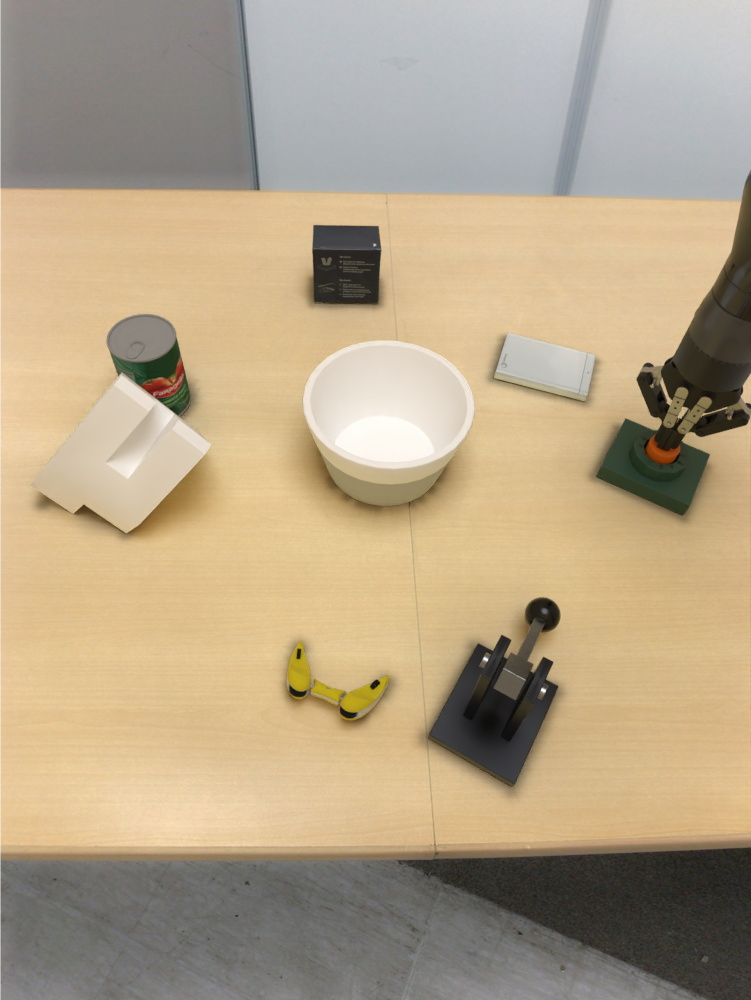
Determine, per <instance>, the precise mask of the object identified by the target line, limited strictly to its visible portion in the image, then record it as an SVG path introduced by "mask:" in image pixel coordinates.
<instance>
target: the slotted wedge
mask: <svg viewBox="0 0 751 1000" xmlns="http://www.w3.org/2000/svg"><path fill="white" fill-rule="evenodd" d="M211 446H212V444H211V443H210V441H208V440H207V438H206V437H205V436H204V435H203V434H202V433H201V432H200V431H198V430H197V429H196V428H194V427H193V426H192V425H191V424H189V423H188V422H187V421H186V420H184V419H183V418H182V417H181V416H180V417H179V416H178V415H176V414H175V413H174V412H172V411H171V410H170V409H169V408H167V407H166V406H165V405H163V404H162V403H161V402H160V401H158V400H157V399H156V398H154V397H153V396H152V395H151V394H149V393H148V392H147V391H145V390H144V389H143V388H142V387H140V386H139V385H138V384H136V383H135V382H134V381H133V380H131V379H130V378H129V377H127V376H126V375H125V374H124V373H121V374H120V375H119V376H118V375H117V378H116V379H114V381H113V382H112V383H111V385H110V386H109V387H108V388H107V389H106V390H105V391H104V393H103V394H102V395H101V396H100V397H99V398H98V399H97V401H96V402H95V403H94V405H92V407H91V408H90V409H89V411H88V412H87V413H86V415H85V416H84V417H83V418H82V420H81V421H80V422H79V423H78V425H77V426H76V427H75V428H74V429H73V430H72V432H71V433H70V434H69V435H68V437H67V438H65V440H64V442H63V443H62V444H61V445H60V447H59V448H58V449H57V450H56V452H55V453H54V454H53V455H52V457H50V459H49V460H48V461H47V463H46V464H45V465H44V466H43V468H42V469H41V470H40V471H39V473H38V474H37V475H36V476H35V477H34V479H33V480H32V481H31V482H30V484H29V486H30V487H32V488H33V489H35V490H36V491H38V492H39V493H41V494H42V495H44V496H45V497H47V498H48V499H50V500H51V501H53V502H54V503H56V504H57V505H59V506H60V507H61V508H63V509H65V510H66V511H68V512H69V513H70V514H72V515H74V514H75V513H76V512H78V510H79V509H80V508H81V507H83V506H86V507H87V508H88V509H89V510H91V511H92V512H94V513H95V514H97V515H98V516H99V517H101V518H103V519H104V520H105V521H107V522H108V523H110V524H111V525H113V526H114V527H116V528H117V529H119V530H121V531H122V532H123V533H125V534H128V533H129V532H131V531H133V530H134V529H136V528H137V527H138V526H140V524H142V523H143V522H144V521H145V519H146V518H147V517H149V515H150V514H151V513H152V512H153V511H154V510H155V509H156V508H157V506H158V505H159V504H160V503H162V501H163V500H165V498H166V497H167V496H168V495H169V494H170V493H171V492H172V491H173V490H174V489H175V487H176V486H177V485H178V484H179V483H180V482H181V481H182V480H183V479H184V478H185V477H186V476H187V474H188V473H190V471H191V470H192V469H193V468H194V467H195V466H196V465H197V464H198V463H199V462H200V461H201V460H202V459H203V458H204V456H206V454H207V452H208V451H209V450H210V448H211Z"/></svg>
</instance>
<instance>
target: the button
mask: <svg viewBox="0 0 751 1000" xmlns="http://www.w3.org/2000/svg"><path fill="white" fill-rule="evenodd" d="M654 437H655V435H654V436H652V437H651V439H650V441H649V443H648V444H647V446H646V448H645V453H646V455H647V456H648V457H649V458H650V459H651V460H652V461H654V462H657V463H659V464H667V465H670V464H671V463H673V462H674V460H675V459H676V457H677V455H678V454H679V452H680V445H679V446H678V448H676V449H672V448H670V450H669V451H666V450H663V448H662V449H661V448H659V447H656V446H657V444H658V442H656V441H654Z"/></svg>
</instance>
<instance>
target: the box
mask: <svg viewBox="0 0 751 1000" xmlns="http://www.w3.org/2000/svg"><path fill="white" fill-rule="evenodd" d="M380 235H381V234H380V226H379V225H348V224H347V225H346V224H345V225H342V224H341V225H337V224H313V225H312V247H311V248H312V249H311V253H312V276H313V279H312V280H313V302H314V304H322V303H328V304H333V303H335V304H374V305H375V304H378V303H379V301H380V300H379V299H380V298H379V297H380V276H381V275H380V274H381V258H382V244H381V236H380Z"/></svg>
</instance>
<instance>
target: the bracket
mask: <svg viewBox="0 0 751 1000" xmlns="http://www.w3.org/2000/svg"><path fill="white" fill-rule="evenodd" d="M511 644H512V639H511V638H509V637H507V636H506V635H504V634H501V635H500V636H499V637H498V641H496V644H495V646H494V648H493V650H492V649H490V648H488V647H486V646H484V645H482V644H480V643H479V642H477V644H476V645H475V648H474V649H473V651H472V653H471V655H470V656H469V658H468V661H467V663H466V665H465V666H464V668H463V669H462V673H461V674H460V676H459V678H458V679H457V681H456V683H455V685H454V686H453V689H452V691H451V692H450V694H449V696H448V698H447V700H446V702H445V704H444V705H443V707H442V709H441V711H440V713H439V714H438V716H437V718H436V720H435V722H434V724H433V725H432V727H431V729H430V731H429V734H428V736H427V738H428V739H429V740H430V741H432V742H434V743H435V744H437V745H439V746H440V747H442V748H444V749H445V750H448V751H449V752H450V753H452V754H455V755H456V756H458V757H460V758H461V759H462V760H464V761H466V762H468V763H470V764H471V765H473V766H475V767H476V768H478V769H480V770H481V771H483V772H485V773H486V774H488V775H491V776H492V777H493V778H496V779H497V780H499V781H501V782H502V783H504V784H506V785H508V786H509V787H511V788H513V787H514V786H515V784H516V782H517V780H518V779H519V776H520V774H521V772H522V769H523V767H524V765H525V763H526V761H527V759H528V756H529V753H530V751H531V749H532V748H533V745H534V742H535V740H536V738H537V736H538V734H539V731H540V729H541V727H542V725H543V723H544V720H545V718H546V716H547V713H548V711H549V710H550V707H551V705H552V703H553V700H554V698H555V696H556V693H557V691H558V689H559V685H558V684H556V683H554V682H552V681H550V680H548V679H547V678H548V675H549V674H550V672H551V669H552V667H553V665H554V661H553V660H552V659H549V658H548V657H545V656H542V657H541V660H540V661H539V663H538V664H537V666H536V668H535V670H534V672H533V671H532V670H531V671H530V673H529V676H528V678H527V680H526V682H525V684H524V686H523V688H522V690H521V692H520V694H519V696H518V698H517V699H516V700H514V699H512V698H510V697H508V696H507V695H505V694H503V693H501V692H499V691H498V690H496V689H494V688H493V687H494V685H495V683H496V681H497V679H498V677H499V675H500V673H501V671H502V669H503V667H504V665H505V663H506V661H507V659H508V657H505V655H506V653H507V651H508V649H509V647H510V645H511Z"/></svg>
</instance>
